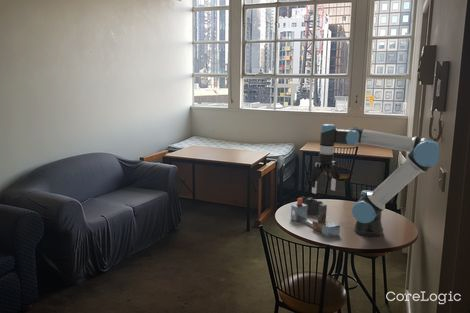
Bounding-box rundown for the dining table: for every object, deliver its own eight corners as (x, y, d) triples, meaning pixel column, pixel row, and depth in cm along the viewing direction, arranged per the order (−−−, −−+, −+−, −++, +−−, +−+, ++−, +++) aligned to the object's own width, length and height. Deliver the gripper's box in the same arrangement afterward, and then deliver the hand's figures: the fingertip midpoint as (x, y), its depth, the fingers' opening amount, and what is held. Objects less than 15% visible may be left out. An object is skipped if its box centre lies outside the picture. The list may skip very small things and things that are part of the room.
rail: (339, 235, 219) (340, 219, 217) (327, 238, 215) (328, 222, 213) (301, 217, 246) (302, 203, 244) (290, 219, 242) (291, 205, 240)
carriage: (330, 231, 223) (332, 206, 221) (321, 233, 220) (323, 207, 218) (320, 226, 230) (322, 201, 227) (312, 228, 227) (313, 203, 224)
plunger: (302, 206, 240) (303, 199, 239) (299, 206, 238) (299, 199, 238) (299, 204, 242) (300, 197, 241) (296, 205, 241) (296, 198, 240)
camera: (326, 212, 257) (327, 197, 255) (319, 217, 248) (320, 201, 246) (305, 208, 265) (306, 193, 263) (298, 212, 256) (299, 197, 254)
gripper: (338, 150, 227) (335, 187, 231) (303, 153, 214) (301, 192, 218) (348, 152, 220) (345, 190, 224) (313, 156, 208) (310, 196, 212)
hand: (323, 191), depth 221 cm, fingers open, 13 cm apart
